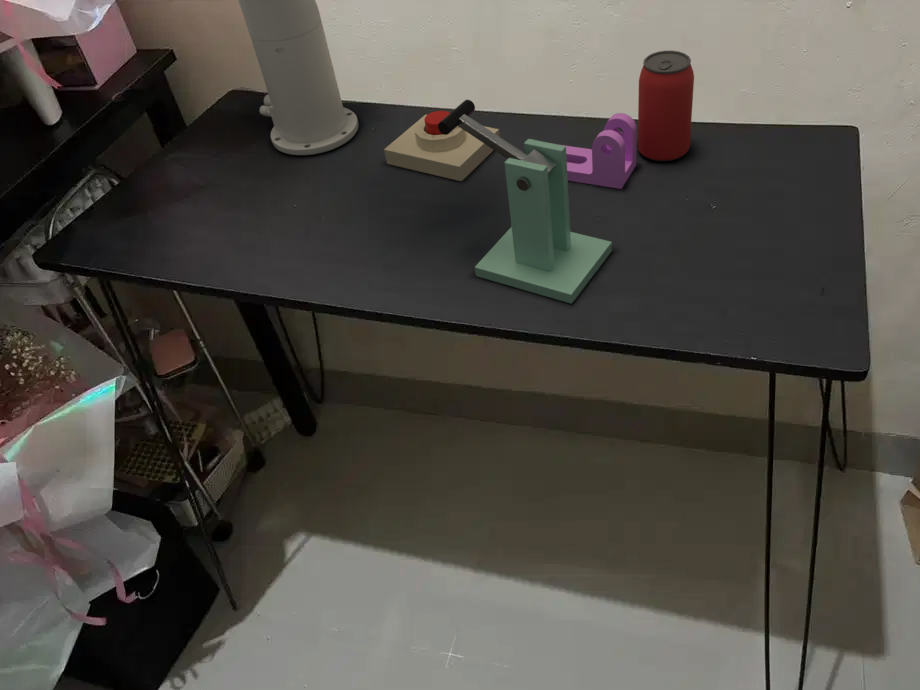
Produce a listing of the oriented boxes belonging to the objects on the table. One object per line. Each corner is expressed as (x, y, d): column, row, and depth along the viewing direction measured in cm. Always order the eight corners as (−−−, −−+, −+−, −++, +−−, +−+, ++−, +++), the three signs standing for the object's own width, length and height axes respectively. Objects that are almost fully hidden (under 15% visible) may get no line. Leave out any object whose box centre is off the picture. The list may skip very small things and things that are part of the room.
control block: (387, 163, 113) (381, 137, 110) (428, 128, 118) (423, 102, 115) (461, 181, 108) (457, 153, 105) (500, 143, 113) (497, 116, 110)
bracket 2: (636, 165, 106) (636, 115, 101) (621, 189, 103) (621, 137, 98) (541, 151, 111) (538, 102, 106) (524, 173, 107) (520, 123, 102)
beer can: (631, 160, 107) (632, 70, 98) (645, 134, 111) (647, 46, 103) (682, 166, 105) (688, 75, 96) (694, 140, 109) (701, 50, 100)
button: (421, 133, 110) (418, 121, 109) (436, 120, 112) (434, 108, 111) (443, 138, 109) (441, 126, 107) (458, 125, 111) (456, 113, 109)
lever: (435, 133, 86) (440, 115, 84) (461, 110, 88) (466, 93, 87) (532, 198, 85) (539, 181, 83) (555, 173, 87) (563, 156, 86)
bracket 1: (475, 276, 93) (458, 167, 84) (519, 227, 99) (508, 120, 89) (571, 304, 88) (565, 192, 79) (612, 251, 94) (611, 140, 84)
